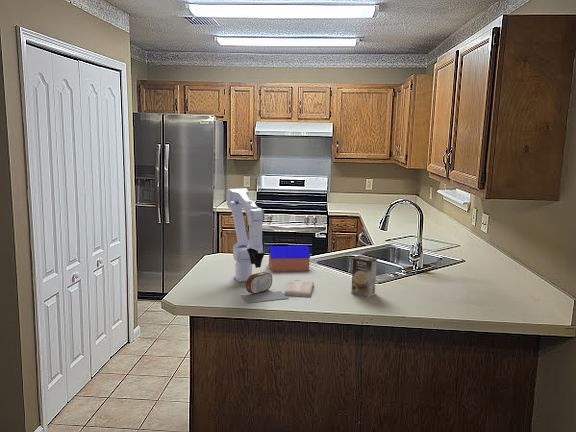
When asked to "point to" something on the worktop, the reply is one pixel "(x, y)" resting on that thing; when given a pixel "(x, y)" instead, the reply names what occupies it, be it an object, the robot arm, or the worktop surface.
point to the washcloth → (299, 288)
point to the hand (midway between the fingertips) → (255, 265)
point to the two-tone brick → (289, 258)
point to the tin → (259, 282)
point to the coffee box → (364, 276)
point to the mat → (264, 297)
